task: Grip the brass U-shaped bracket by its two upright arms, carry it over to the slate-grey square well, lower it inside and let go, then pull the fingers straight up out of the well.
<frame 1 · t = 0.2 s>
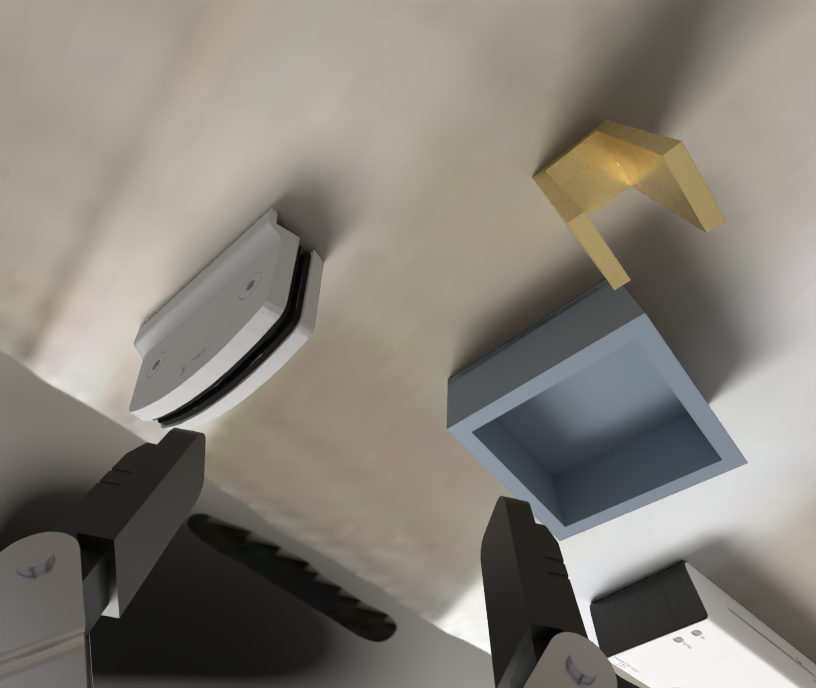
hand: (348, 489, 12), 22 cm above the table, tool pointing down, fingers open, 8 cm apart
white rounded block: (240, 309, 36), on the table
laminator: (716, 643, 53), on the table
bracket: (584, 175, 28), on the table
well: (575, 393, 36), on the table
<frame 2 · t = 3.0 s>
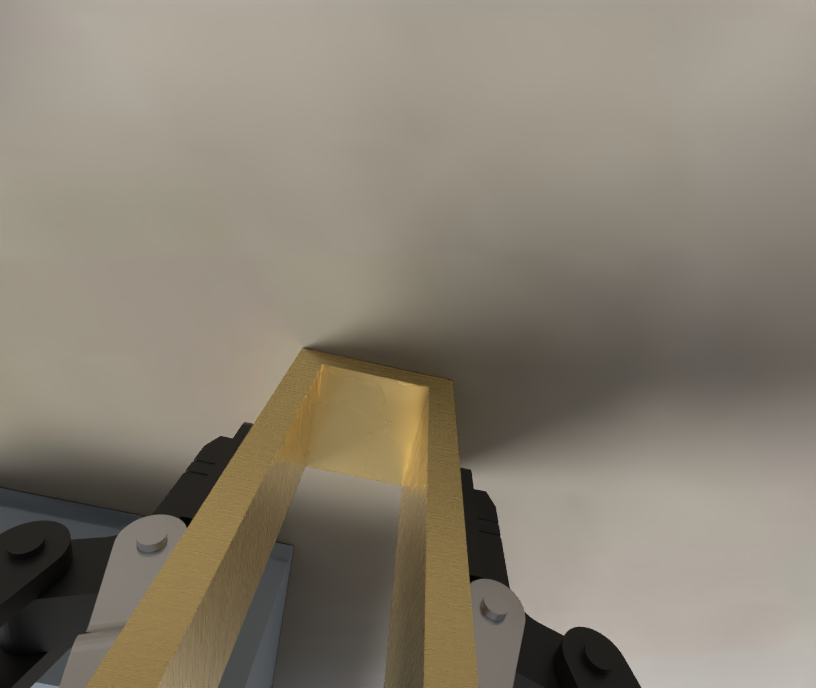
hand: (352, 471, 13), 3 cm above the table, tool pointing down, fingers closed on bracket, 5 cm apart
bracket: (367, 415, 16), on the table, touching gripper
well: (121, 627, 21), on the table
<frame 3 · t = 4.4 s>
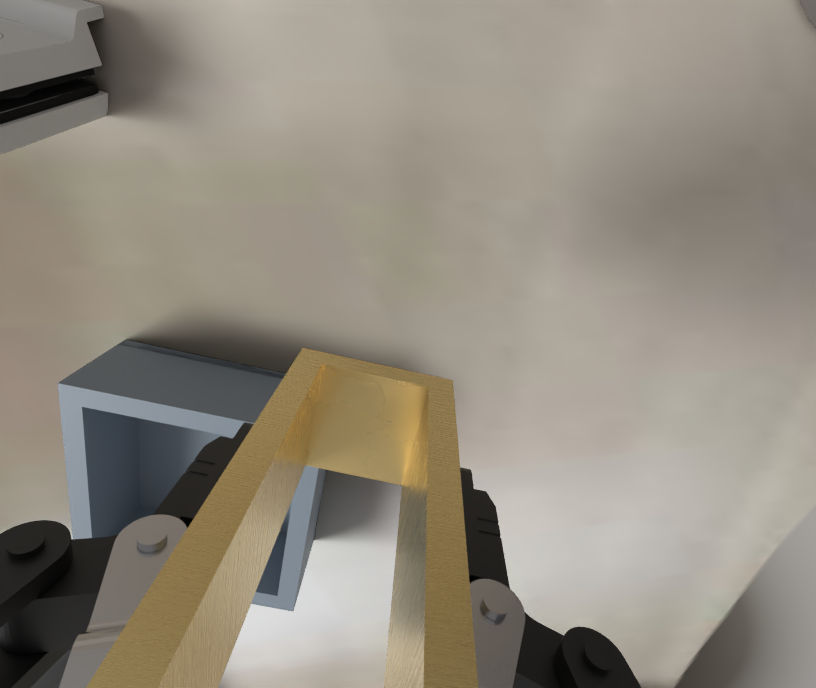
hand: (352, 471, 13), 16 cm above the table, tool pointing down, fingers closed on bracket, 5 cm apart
bracket: (367, 414, 16), point 13 cm above the table, touching gripper
well: (228, 450, 33), on the table
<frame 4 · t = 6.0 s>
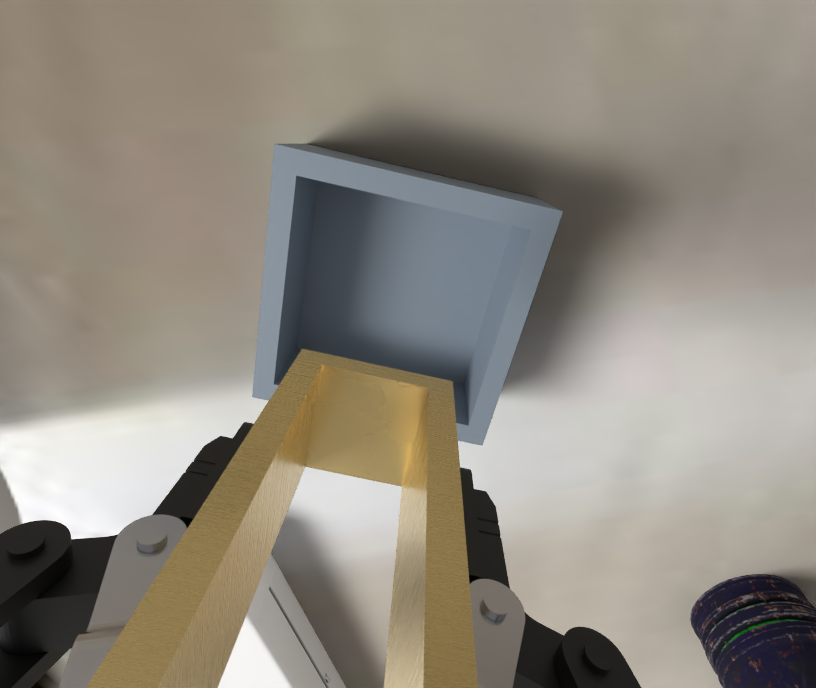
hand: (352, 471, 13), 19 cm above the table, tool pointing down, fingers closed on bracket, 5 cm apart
storage jar: (745, 610, 42), on the table
laminator: (265, 641, 47), on the table
bracket: (367, 415, 16), point 16 cm above the table, touching gripper
well: (399, 283, 31), on the table
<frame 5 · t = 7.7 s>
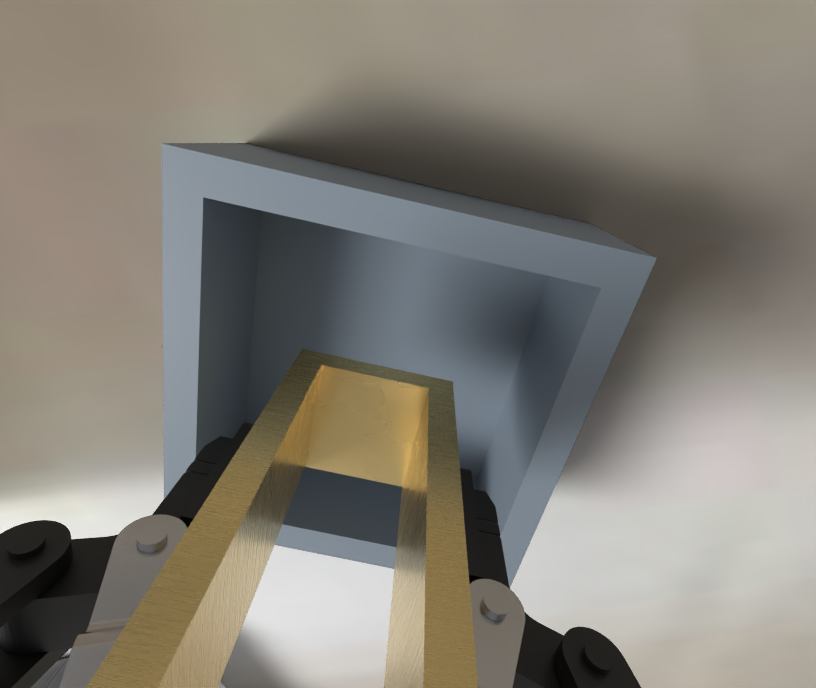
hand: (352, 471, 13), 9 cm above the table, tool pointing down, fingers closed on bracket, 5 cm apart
bracket: (367, 416, 16), point 6 cm above the table, touching gripper
well: (386, 343, 21), on the table
when the fingers open (6 cm above the table, at t = 8.9 s): bracket drops 2 cm, resting on well.
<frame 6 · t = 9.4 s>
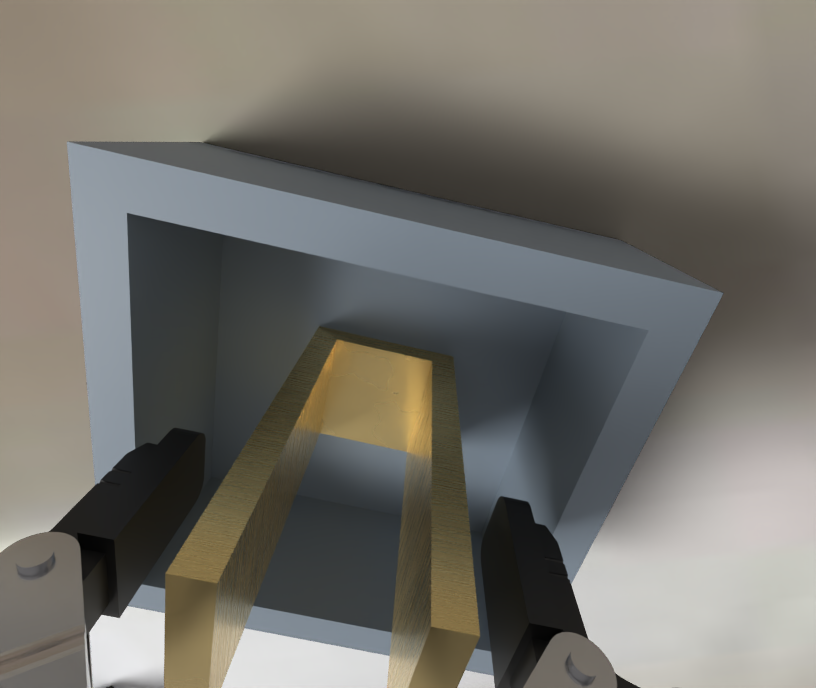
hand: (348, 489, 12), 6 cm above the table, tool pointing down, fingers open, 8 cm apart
bracket: (376, 388, 17), point 1 cm above the table, touching well
well: (375, 377, 18), on the table
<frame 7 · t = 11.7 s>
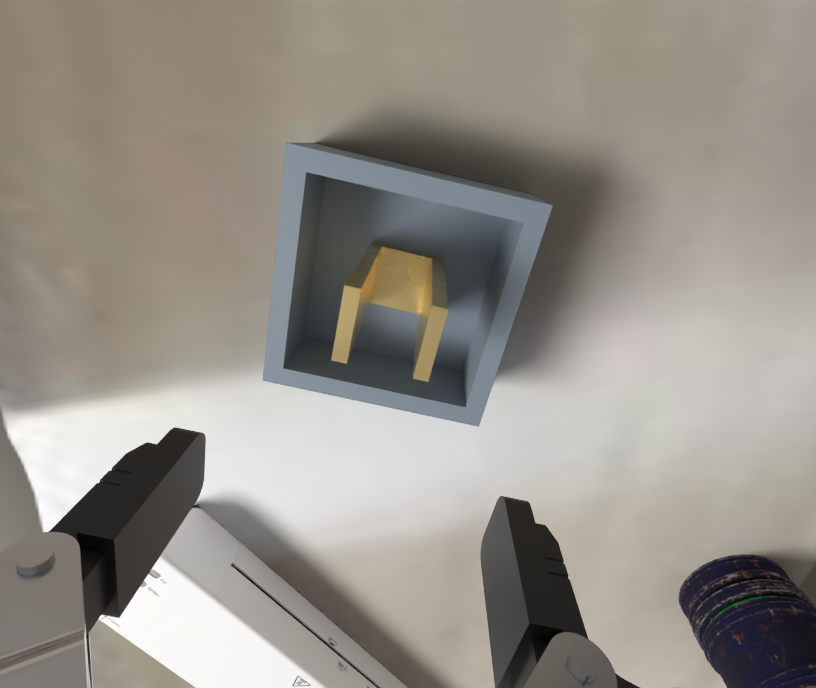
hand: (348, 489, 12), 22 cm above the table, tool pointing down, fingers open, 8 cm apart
storage jar: (730, 590, 43), on the table
laminator: (273, 623, 49), on the table
bracket: (401, 278, 32), point 1 cm above the table, touching well
well: (400, 274, 32), on the table
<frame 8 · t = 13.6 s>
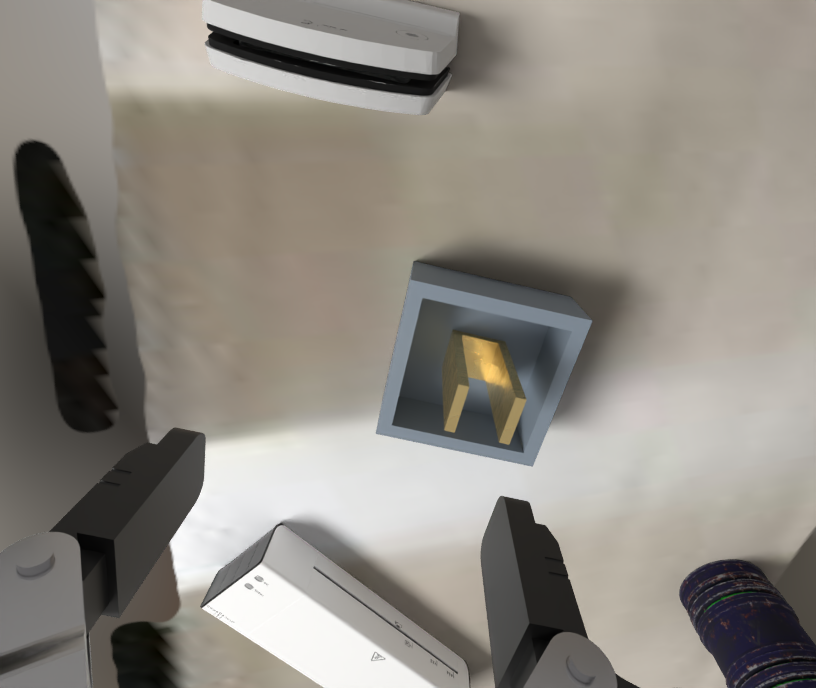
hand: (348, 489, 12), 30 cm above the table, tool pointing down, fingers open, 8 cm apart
storage jar: (721, 587, 54), on the table
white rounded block: (343, 50, 34), on the table
laminator: (348, 614, 60), on the table
bracket: (473, 354, 43), point 1 cm above the table, touching well
well: (471, 350, 43), on the table
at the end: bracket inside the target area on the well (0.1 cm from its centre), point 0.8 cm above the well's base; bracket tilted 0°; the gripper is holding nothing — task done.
